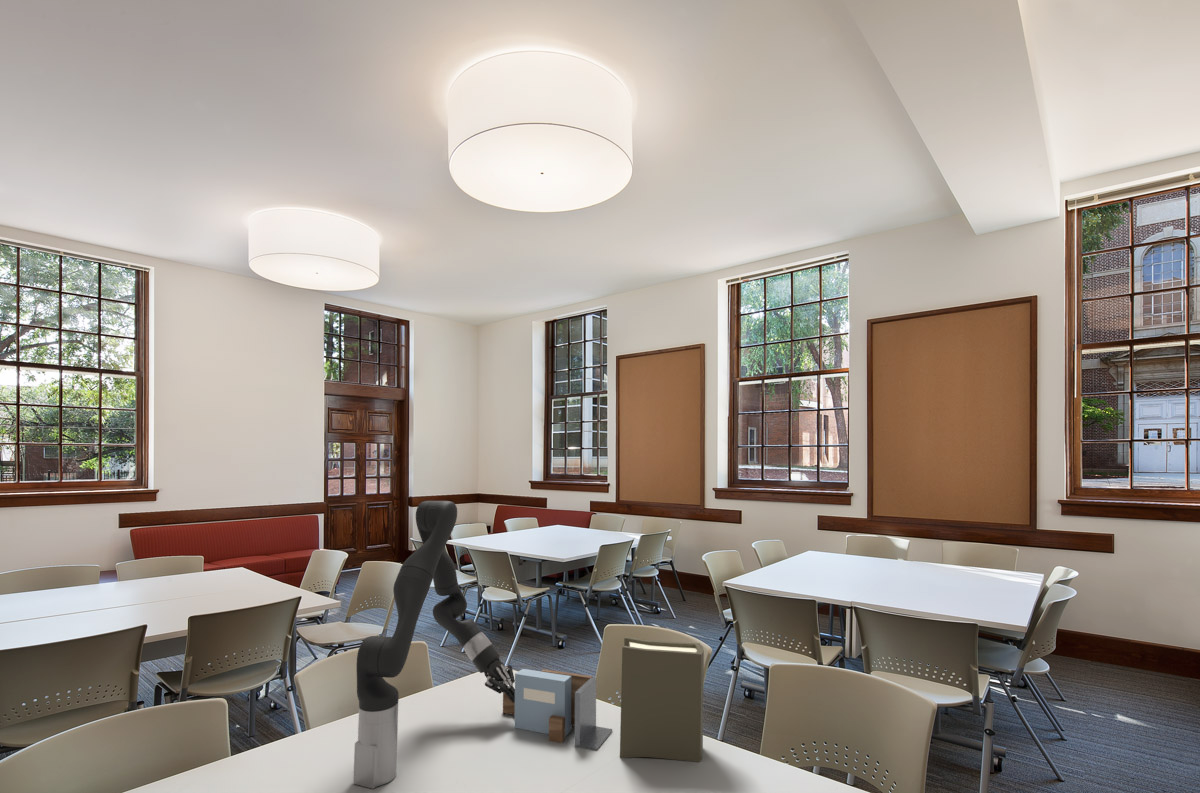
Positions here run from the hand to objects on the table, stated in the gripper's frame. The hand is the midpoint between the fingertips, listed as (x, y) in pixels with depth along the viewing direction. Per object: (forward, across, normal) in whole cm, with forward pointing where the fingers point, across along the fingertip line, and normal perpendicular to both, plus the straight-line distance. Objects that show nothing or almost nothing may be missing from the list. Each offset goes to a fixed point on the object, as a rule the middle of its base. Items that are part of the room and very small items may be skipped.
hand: (516, 700), depth 178 cm
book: (+36, -1, -27) cm, 45 cm away
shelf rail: (+10, +1, 0) cm, 10 cm away
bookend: (+22, 0, -13) cm, 25 cm away
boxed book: (+11, 0, -1) cm, 11 cm away
